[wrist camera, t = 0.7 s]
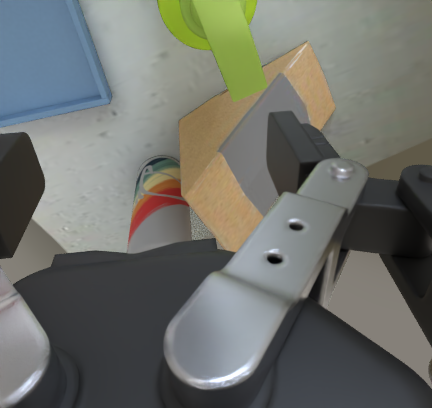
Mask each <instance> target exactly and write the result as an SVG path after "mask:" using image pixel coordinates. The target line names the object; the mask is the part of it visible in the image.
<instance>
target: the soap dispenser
mask: <svg viewBox="0 0 432 408" xmlns="http://www.w3.org/2000/svg"><path fill="white" fill-rule="evenodd" d="M157 2H158V7H159V11H160V14H161V17H162V19H163V21H164V23H165V25H166V26H167V28H168V29H169V31H170V32H171V33H172V34H173V35H174V36H175V37H176V38H177V39H178V40H179V41H181V42H182V43H184V44H186V45H188V46H190V47H192V48H196V49H200V50H212V52H213V54H214V57H215V59H216V62H217V64H218V67H219V69H220V72H221V74H222V76H223V79H224V81H225V84H226V86H227V88H228V91H229V93H230V96H231V98H232V100H233V102H236V101H238V100H241V99H243V98H245V97H247V96H250V95H252V94H254V93H256V92H258V91H261V90H263V89H265V88H267V82H266V79H265V75H264V72H263V69H262V66H261V62H260V59H259V56H258V53H257V50H256V47H255V44H254V41H253V38H252V35H251V32H250V29H249V26H248V25H249V24H250V22H251V20H252V18H253V15H254V12H255V9H256V4H257V0H157Z"/></svg>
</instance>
